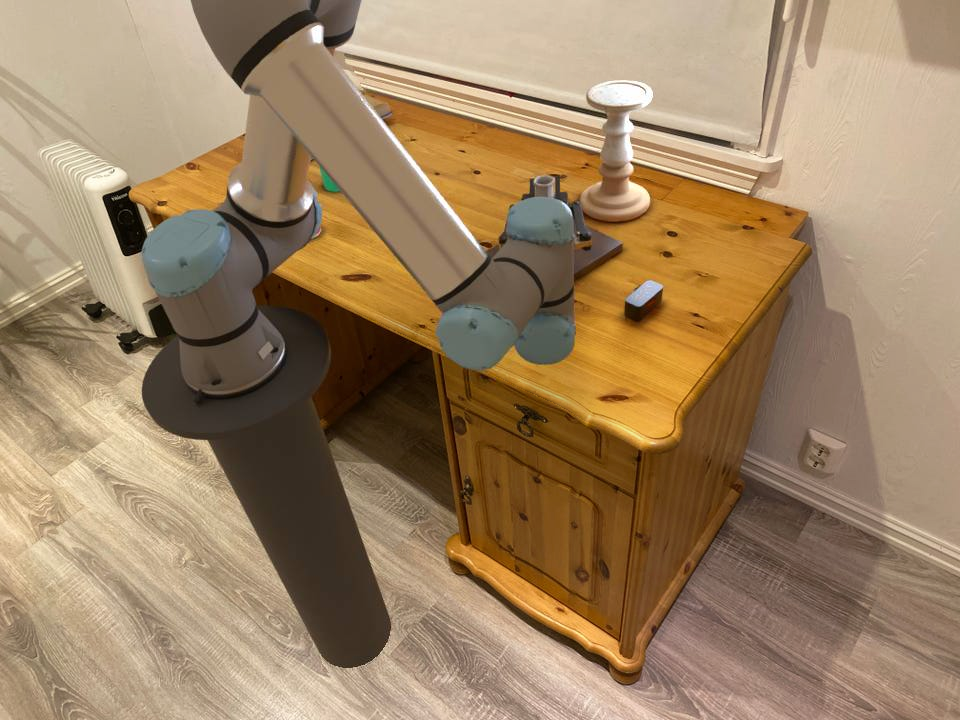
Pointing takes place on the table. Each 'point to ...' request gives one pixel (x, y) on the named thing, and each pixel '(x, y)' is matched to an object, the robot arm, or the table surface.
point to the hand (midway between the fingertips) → (545, 186)
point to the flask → (544, 186)
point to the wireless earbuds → (643, 300)
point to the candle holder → (616, 153)
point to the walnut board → (587, 252)
